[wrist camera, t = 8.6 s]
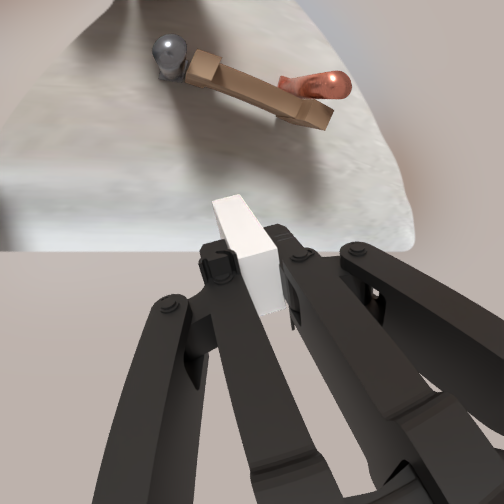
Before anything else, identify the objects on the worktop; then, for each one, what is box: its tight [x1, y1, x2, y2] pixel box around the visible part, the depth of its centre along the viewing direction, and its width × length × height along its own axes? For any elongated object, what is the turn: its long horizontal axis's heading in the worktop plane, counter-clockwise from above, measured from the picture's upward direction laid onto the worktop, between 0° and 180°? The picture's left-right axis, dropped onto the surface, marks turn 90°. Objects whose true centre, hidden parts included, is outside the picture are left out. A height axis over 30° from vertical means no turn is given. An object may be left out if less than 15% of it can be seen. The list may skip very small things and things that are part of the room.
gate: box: [185, 49, 334, 131], centre depth 27 cm, size 2×13×11 cm, turn 67°
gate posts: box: [152, 34, 352, 99], centre depth 26 cm, size 17×4×13 cm, turn 75°
